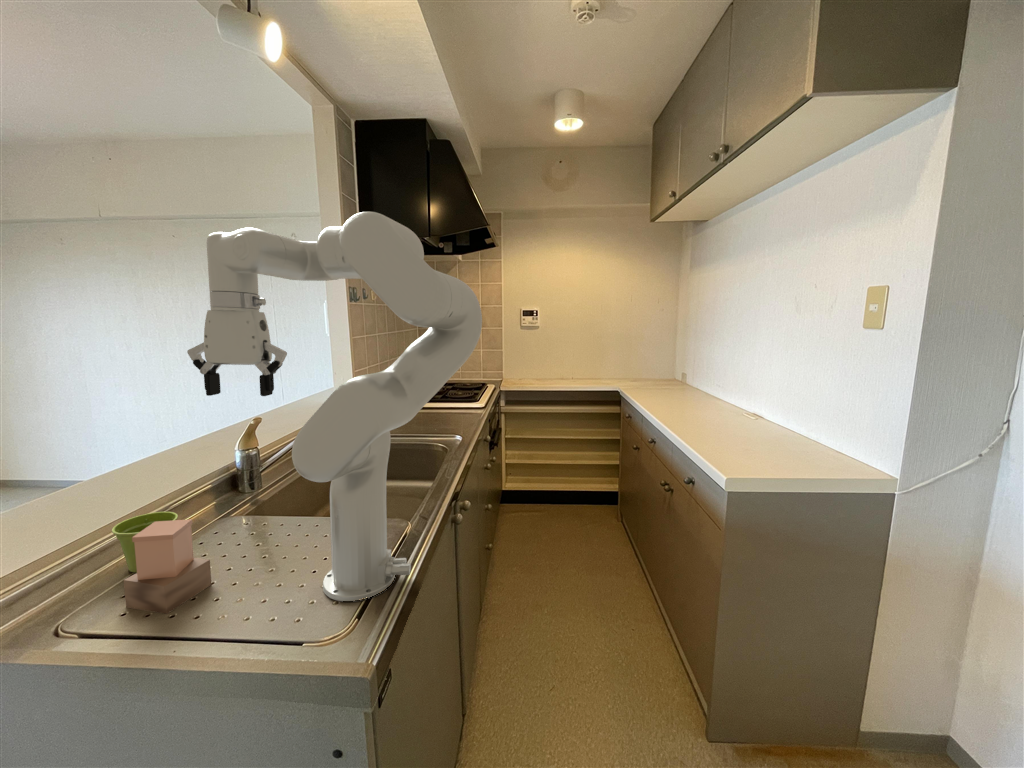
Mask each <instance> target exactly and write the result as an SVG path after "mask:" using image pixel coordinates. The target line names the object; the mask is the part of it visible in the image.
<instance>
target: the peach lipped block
mask: <svg viewBox="0 0 1024 768" xmlns="http://www.w3.org/2000/svg"><path fill="white" fill-rule="evenodd" d="M192 525H193V519H191V518H190V519H177V520H173V521H157V522H154V523H152V524H151V525H149V526H148V527H146V528H145V529H144V530H142V531H141V532H139V533H138V534H136V535H135V536H133V537H132V542H134V545H135V556H136V567H137V572H136V573H137V578H138V580H144V579H155V578H167V577H176V576H177V575H178V574H179V573H180V572H181V571H182V570H183V569H184V568H185V567H186V566H187V565H188V564H189V563H190V562H191V561H192V560H193V559H194V558H195V556H194V545H193V531H192Z"/></svg>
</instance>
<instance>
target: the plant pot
mask: <svg viewBox="0 0 1024 768" xmlns="http://www.w3.org/2000/svg"><path fill="white" fill-rule="evenodd" d="M178 516H179V515H178V514H177V513H176V512H173V511H156V512H150V513H144V514H140V515H137V516H133V517H130V518H128V519H124V520H122V521H121V522H119V523H117V524H115V525H114V526H113V527H112V529H111V532H112V534H113V535H115V536H116V538H117V540H118V541H119V543H120V547H121V549H122V553H123V556H124V559H125V562H126V566H127V569H128V571H129V572H130V573H131V572H132V573H137V567H136V556H135V545H134V542H132V537H133V536H135V535H136V534H138V533H139V532H141V531H142V530H144V529H145V528H146V527H148V526H149V525H151V524H152V523H154V522H157V521H173V520H178V519H179V517H178Z"/></svg>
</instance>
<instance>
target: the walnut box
mask: <svg viewBox="0 0 1024 768" xmlns="http://www.w3.org/2000/svg"><path fill="white" fill-rule="evenodd" d="M210 586H212V573H211V559H207V558H201V557H194V559H193V560H192V561H191V562H190V563H189V564H188V565H187V566H186V567H185V568H184V569H183V570H182V571H181V572H180V573H179V574H178V575H177V576H176V577H167V578H155V579H144V580H138V578H137V572H135V573H134V574H133V575H131V576H128V577H126V578H125V579H123V587H124V588H123V590H124V601H125V607H126V608H128V609H133V610H139V611H147V612H152V613H159V614H164V615H165V614H166V615H168V614H169V613H171V612H173V611H174V610H175V609H177V608H179V607H180V606H181V605H183V604H184V603H186V602H187V601H189V600H191V598H193V597H195V596H197V595H198V594H200V593H201V592H203V591H204V590H206V589H207V588H208V587H210Z"/></svg>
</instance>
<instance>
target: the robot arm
mask: <svg viewBox="0 0 1024 768" xmlns="http://www.w3.org/2000/svg"><path fill="white" fill-rule="evenodd" d="M206 253H207V254H206V255H207V256H206V257H207V269H208V270H207V272H208V289H209V290H208V291H209V303H210V305H209V306H210V307H209V308H210V310H209V309H207V310H206V314H205V320H204V331H203V342H202V343H200V344H197V345H195V346H193V347H191V348H190V349H188V350H187V352H186V353H187V355H188V356H189V358H190V360H191V361H192V364H193V366H194V367H196V368H197V369H198V370H199V372H200V374H201V375H203V380H204V381H203V384H204V390H205V394H206V396H209V397H210V396H215V395H219V394H221V392H222V391H221V376H220V373H219V372H217V371H218V370H219V369H220V367H221V366H223V365H226V366H227V365H228V366H229V365H232V366H235V365H236V366H239V365H240V366H249V365H250V366H252V365H254V366H255V367H256V368H257V369H258V370H259V372H261V374H260V375H259V393H260V396H261V397H268V396H271V395H273V393H274V392H273V391H274V389H275V382H274V381H275V380H274V379H275V378H274V374H276V373H277V371H278V370H279V369H280V368H282V366H283V363H284V361H285V359H286V357H287V356H288V353H287V351H286V350H285V349H282V348H280V347H278V346H277V345H274V344H272V342H271V336H270V330H269V326H268V320H267V318H266V315H265V312H264V311H263V312H262V311H260V309H261V306H266V305H267V300H266V298H264V297H261V296H260V294H259V277H258V275H262V276H263V275H264V276H271V277H275V278H280V279H281V278H282V279H284V280H285V279H286V280H291V281H300V282H301V281H302V282H303V281H307V282H310V281H311V282H312V281H313V282H319V281H320V282H321V281H322V282H323V281H324V282H325V281H336V280H337V281H339V280H340V279H345V280H348V279H350V280H353V279H357V280H358V279H360V280H362V281H363V282H365V283H366V284H367V286H368V287H369V288H370V289H371V290H372V291H373V292H374V294H376V296H378V297H379V299H380V300H381V301H382V302H383V303H384V304H385V306H387V307H388V308H389V309H390V311H392V313H394V314H395V315H396V316H397V317H398V318H399V319H401V320H402V321H404V322H405V323H407V324H409V325H412V326H414V327H419V328H427V330H426V331H425V332H424V333H423V334H422V335H421V336H419V337H418V338H417V339H415V340H413V342H412V343H410V345H408V347H406V348H405V350H404V351H403V352H402V353H401V354H400V356H399V357H397V359H396V360H395V361H393V363H392V364H391V365H389V366H388V367H387V368H386V369H383V370H381V371H379V372H378V371H377V372H374V373H367V374H366V373H365V374H362V375H356V376H355V377H352V378H350V379H348V380H346V381H345V382H343V384H341V385H339V386H338V387H337V388H336V389H335V390H334V391H333V392H332V393H331V394H330V395H329V396H328V398H326V400H325V401H324V402H323V403H322V404H321V405H320V407H318V408H317V410H316V411H315V412H314V413H313V414H312V416H310V418H309V419H308V420H307V421H306V422H305V424H304V425H302V427H301V428H300V430H299V431H298V433H297V434H296V436H295V437H294V440H293V444H292V449H291V459H292V463H293V467H294V468H295V470H296V471H297V473H298V474H299V475H300V476H301V477H303V478H304V479H306V480H308V481H311V482H314V483H315V482H316V483H327V482H330V487H329V513H330V515H329V516H330V518H329V519H330V521H329V522H330V544H331V545H330V547H331V549H330V550H331V570H328V572H327V573H326V574H325V576H324V578H323V581H322V591H323V593H324V595H326V596H327V597H328V598H329V599H332V600H334V601H338V602H343V601H353V602H355V601H354V600H359V599H362V598H366V597H367V598H368V599H371V598H370V597H372V596H374V595H376V594H378V593H379V592H381V591H383V590H384V589H386V588H387V587H388V586H389V585H390V584H391V583H392V581H393V580H394V578H395V579H396V577H395V575H396V576H397V575H398V576H409V575H410V574H411V571H412V565H411V563H409V562H408V563H407V559H408V558H407V557H398V558H395V556H392V549H391V548H390V549H388V535H387V534H388V533H387V532H388V529H387V528H388V527H387V525H388V524H387V519H388V518H387V476H388V475H387V472H388V463H389V458H390V451H391V440H392V439H391V438H392V437H391V431H393V430H396V429H397V428H400V427H402V426H404V425H406V424H407V423H409V422H411V421H412V420H413V419H414V418H415V417H416V415H417V414H418V413H419V412H420V411H421V410H422V409H423V407H424V406H425V405H426V404H427V403H428V402H430V400H431V399H432V398H433V397H434V396H435V395H436V394H438V392H440V390H441V389H442V388H443V387H444V385H445V384H446V383H448V381H449V380H450V379H452V377H453V376H454V375H455V374H456V373H458V371H459V370H460V369H461V367H463V365H464V364H465V363H466V362H467V361H468V359H469V358H470V357H471V355H472V354H473V352H474V350H475V349H476V347H477V345H478V342H479V340H480V337H481V333H482V328H483V316H482V308H481V306H480V305H481V304H480V301H479V299H478V297H477V295H476V293H475V292H474V291H473V289H472V288H471V287H470V286H469V285H468V284H467V283H466V282H465V281H463V280H461V279H460V278H458V277H455V276H452V275H450V274H447V273H444V272H441V271H439V270H435V269H433V267H431V266H430V265H429V264H428V263H427V262H426V260H424V259H425V252H424V245H423V244H422V242H421V240H420V238H419V237H418V235H417V234H416V233H415V232H414V230H413V231H412V230H411V229H410V228H409V227H407V226H405V225H403V224H402V223H399V222H398V221H395V220H394V219H392V218H390V217H388V216H386V215H384V214H382V213H379V212H376V211H362V212H358V213H355V214H353V215H352V216H350V217H349V218H348V219H347V220H346V221H345V222H344V224H343V225H330V226H327V227H325V228H324V229H323V230H321V232H320V234H319V235H318V237H317V241H316V240H315V241H310V240H309V241H308V240H307V241H305V240H304V241H302V240H296V239H293V238H289V237H286V236H284V235H280V234H277V233H274V232H270V231H266V230H263V229H259V228H254V227H244V228H240V229H239V228H238V229H236V230H234V231H231V232H230V231H229V232H225V231H224V232H223V231H217V232H216V231H215V232H212V233H210V234H208V236H207V237H206ZM202 354H204V358H205V359H203V356H202ZM273 355H274V356H275V357H274V359H273V358H272V357H273ZM272 359H273V361H272ZM271 361H272V362H271ZM270 362H271V363H270ZM394 581H395V580H394ZM386 590H387V589H386ZM378 595H379V594H378ZM376 596H377V595H376ZM374 597H375V596H374ZM372 598H373V597H372Z"/></svg>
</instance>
